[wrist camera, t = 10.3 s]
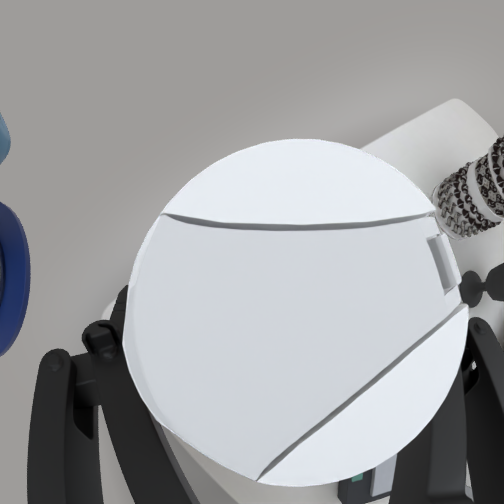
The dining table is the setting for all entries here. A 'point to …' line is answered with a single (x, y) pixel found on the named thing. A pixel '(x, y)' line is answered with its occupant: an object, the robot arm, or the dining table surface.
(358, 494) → the scale
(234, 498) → the dining table surface
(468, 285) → the sundae
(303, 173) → the coffee cup
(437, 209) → the decorative candle
